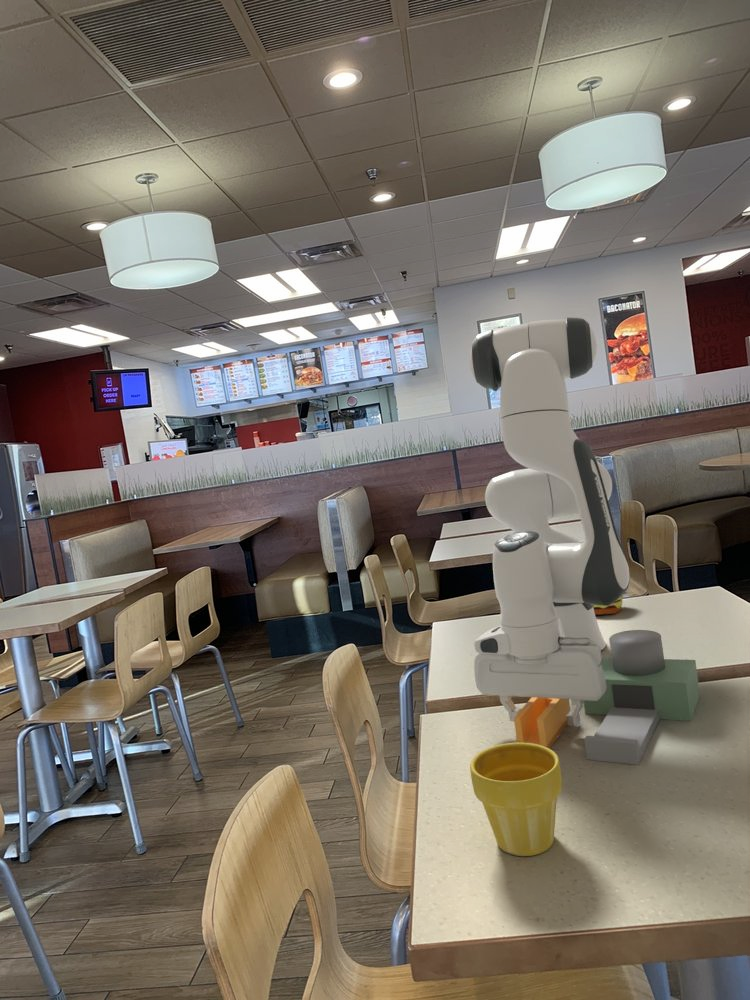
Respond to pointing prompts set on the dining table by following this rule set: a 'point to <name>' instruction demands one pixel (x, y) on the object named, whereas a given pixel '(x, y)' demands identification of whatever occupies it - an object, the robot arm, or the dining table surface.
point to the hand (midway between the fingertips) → (544, 722)
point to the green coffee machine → (639, 696)
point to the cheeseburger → (609, 607)
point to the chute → (541, 721)
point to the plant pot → (519, 794)
